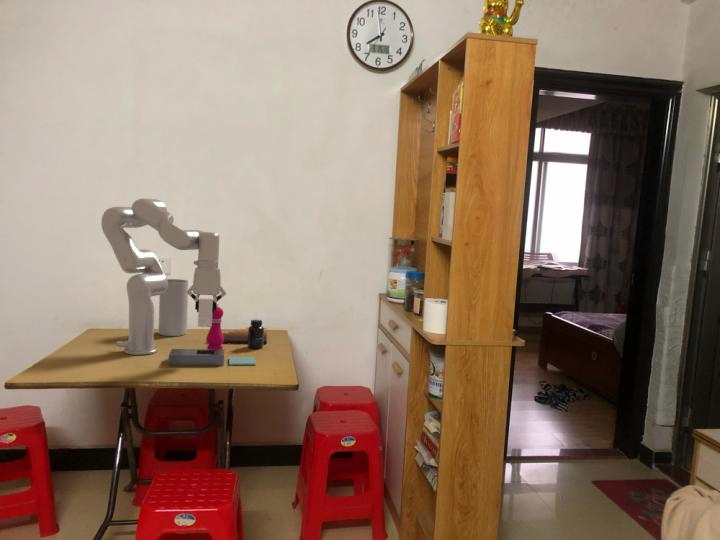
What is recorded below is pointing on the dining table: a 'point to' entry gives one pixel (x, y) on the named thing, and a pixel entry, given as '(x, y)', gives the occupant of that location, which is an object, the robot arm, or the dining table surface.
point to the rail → (196, 357)
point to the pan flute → (240, 336)
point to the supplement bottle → (255, 335)
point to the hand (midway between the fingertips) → (205, 311)
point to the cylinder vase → (173, 308)
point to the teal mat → (241, 361)
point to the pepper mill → (215, 330)
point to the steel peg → (205, 313)
